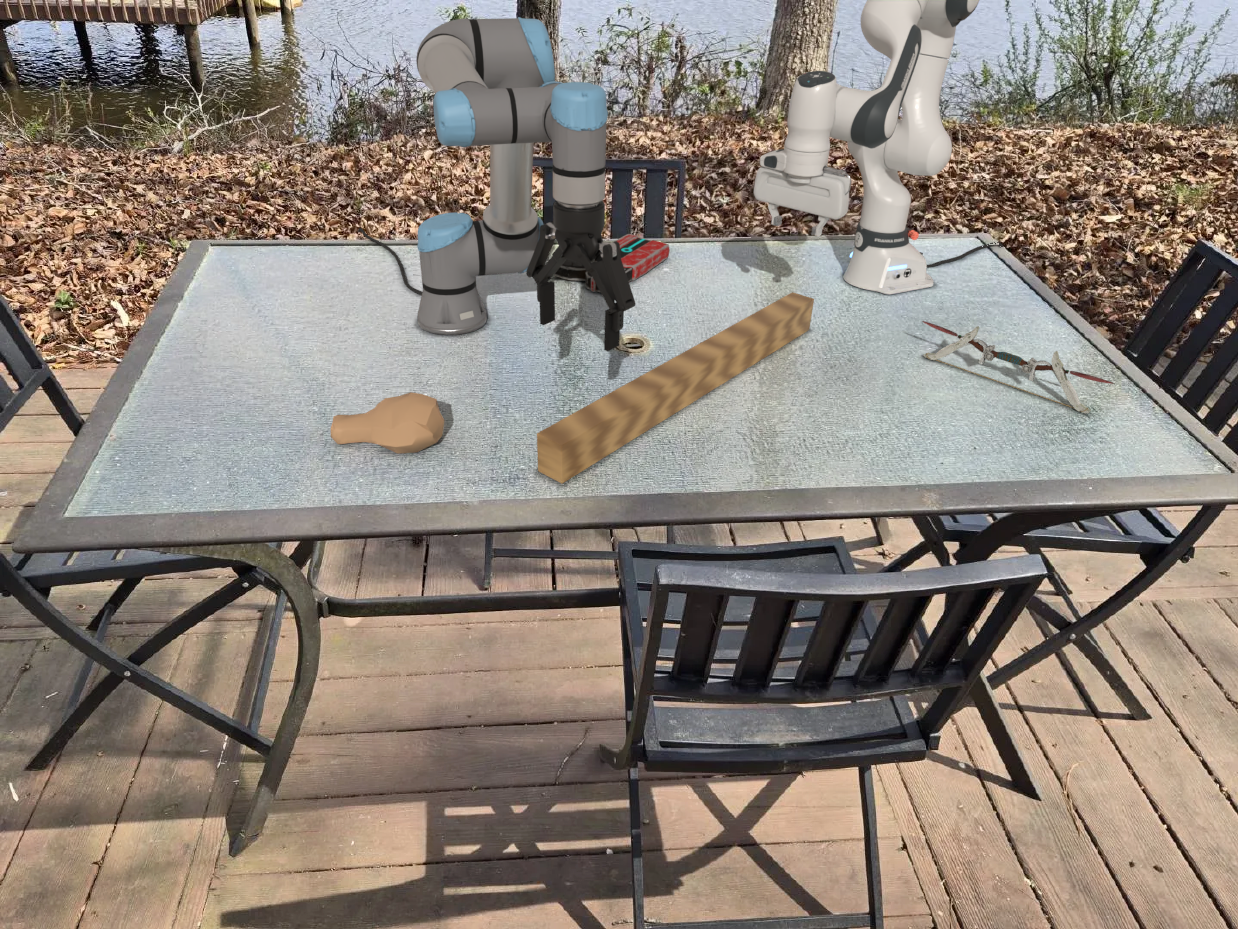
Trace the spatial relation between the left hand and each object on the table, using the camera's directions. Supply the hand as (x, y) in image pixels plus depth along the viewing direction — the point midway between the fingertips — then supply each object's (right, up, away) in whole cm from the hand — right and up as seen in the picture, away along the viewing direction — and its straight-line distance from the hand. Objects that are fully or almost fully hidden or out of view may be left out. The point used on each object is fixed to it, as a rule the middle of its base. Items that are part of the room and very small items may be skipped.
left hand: (578, 334), depth 138 cm
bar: (+21, -6, +35) cm, 41 cm away
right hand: (+43, +28, +43) cm, 67 cm away
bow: (+84, -4, +40) cm, 94 cm away
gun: (+5, +30, +87) cm, 92 cm away
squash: (-34, -17, +16) cm, 41 cm away
